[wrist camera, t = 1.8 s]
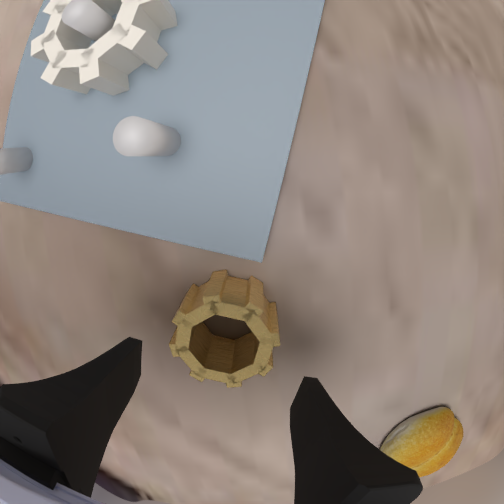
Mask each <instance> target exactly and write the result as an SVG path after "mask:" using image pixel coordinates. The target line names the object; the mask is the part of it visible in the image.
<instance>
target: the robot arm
mask: <svg viewBox="0 0 504 504" xmlns="http://www.w3.org/2000/svg"><path fill="white" fill-rule="evenodd" d="M141 353H142V341H141V340H138V339H135V338H131V337H128V338H127V339H125V340H124V341H122V342H121V343H119V344H118V345H116V346H115V347H113V348H112V349H110V350H108V351H107V352H105V353H104V354H102V355H100V356H99V357H97V358H95V359H94V360H92V361H90V362H88V363H86V364H84V365H82V366H80V367H78V368H76V369H74V370H71V371H69V372H66V373H64V374H61V375H57V376H54V377H51V378H47V379H43V380H39V381H34V382H28V383H19V384H3V385H2V386H1V387H0V504H104V503H102V502H99V501H97V500H95V499H92V498H91V494H92V491H93V487H94V483H95V480H96V476H97V473H98V470H99V467H100V464H101V461H102V458H103V455H104V452H105V449H106V447H107V444H108V442H109V439H110V436H111V434H112V432H113V430H114V428H115V426H116V424H117V422H118V420H119V419H120V417H121V415H122V413H123V411H124V410H125V408H126V406H127V404H128V402H129V401H130V399H131V397H132V395H133V393H134V391H135V388H136V386H137V383H138V381H139V378H140V375H141ZM290 431H291V440H292V448H293V456H294V464H295V499H294V504H410V503H411V502H412V501H414V500H415V499H416V498H417V497H418V496H419V495H420V493H421V491H422V490H423V486H422V484H421V481H420V478H419V476H418V473H417V471H415V470H413V469H411V468H409V467H407V466H405V465H403V464H401V463H399V462H397V461H396V460H394V459H393V458H391V457H389V456H388V455H386V454H385V453H383V452H382V451H381V450H379V449H378V448H377V447H375V446H374V445H373V444H372V443H370V442H369V441H368V440H367V439H366V438H365V437H364V436H363V435H362V434H361V433H359V432H358V431H357V430H356V429H355V428H354V426H353V425H352V424H351V423H350V422H349V421H348V420H347V418H346V417H345V416H344V415H343V414H342V412H341V411H340V410H339V409H338V407H337V406H336V405H335V403H334V402H333V400H332V399H331V398H330V396H329V395H328V393H327V392H326V390H325V389H324V387H323V386H322V384H321V383H320V382H319V380H318V379H317V378H312V377H305V376H304V378H303V380H302V383H301V385H300V387H299V390H298V392H297V394H296V396H295V399H294V401H293V403H292V405H291V407H290Z"/></svg>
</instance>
